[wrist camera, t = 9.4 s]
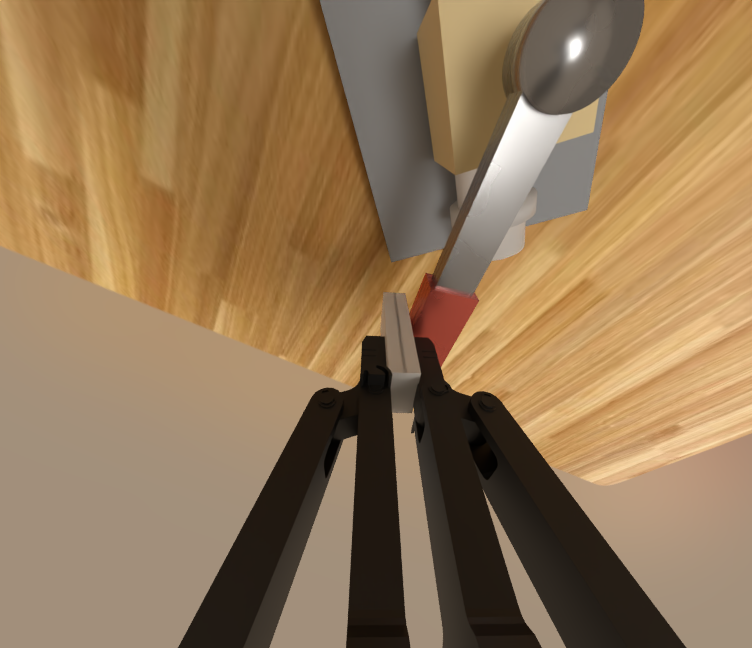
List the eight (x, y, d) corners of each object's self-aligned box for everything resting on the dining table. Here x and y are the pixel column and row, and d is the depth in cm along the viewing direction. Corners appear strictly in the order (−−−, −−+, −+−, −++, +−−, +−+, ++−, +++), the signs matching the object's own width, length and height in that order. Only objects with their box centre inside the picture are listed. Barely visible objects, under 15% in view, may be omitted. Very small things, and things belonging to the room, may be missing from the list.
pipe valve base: (295, -97, 14) (169, -436, 6) (640, -284, 11) (1460, -1548, 3) (390, 253, 26) (397, 319, 17) (572, 203, 23) (689, 252, 14)
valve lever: (535, -26, 8) (572, -61, 7) (620, 11, 9) (672, -13, 7) (389, 349, 18) (390, 371, 17) (433, 357, 19) (439, 379, 17)
